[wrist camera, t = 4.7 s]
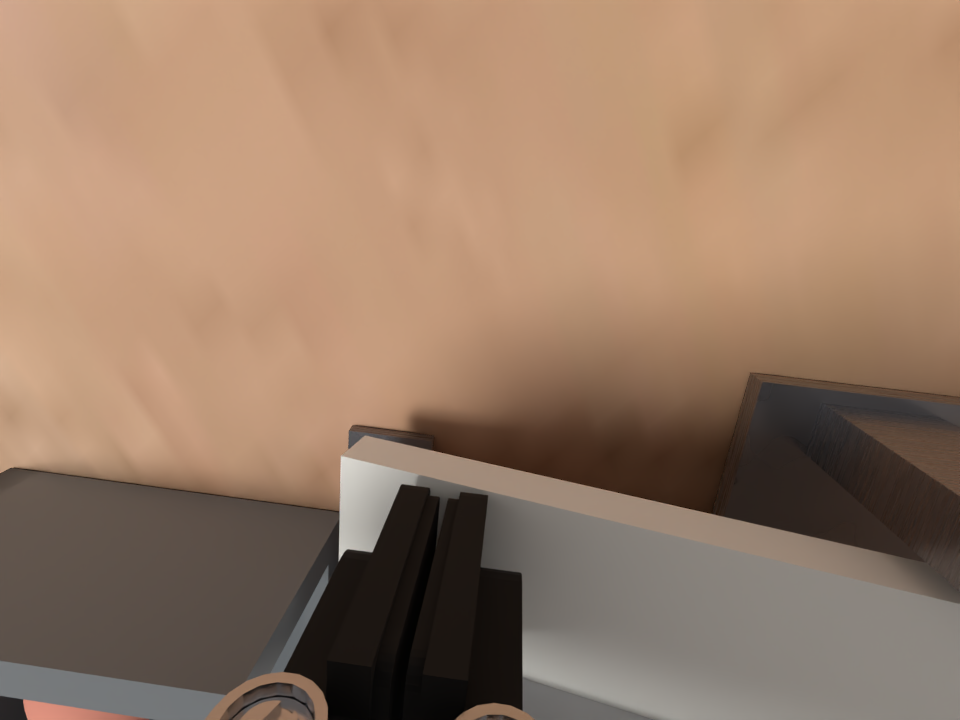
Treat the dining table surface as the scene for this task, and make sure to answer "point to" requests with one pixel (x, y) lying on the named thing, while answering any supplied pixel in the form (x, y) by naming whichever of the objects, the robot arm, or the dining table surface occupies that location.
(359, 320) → the dining table surface
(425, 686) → the robot arm
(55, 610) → the grey open cubby box
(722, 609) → the seesaw
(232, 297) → the dining table surface
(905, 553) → the stand
